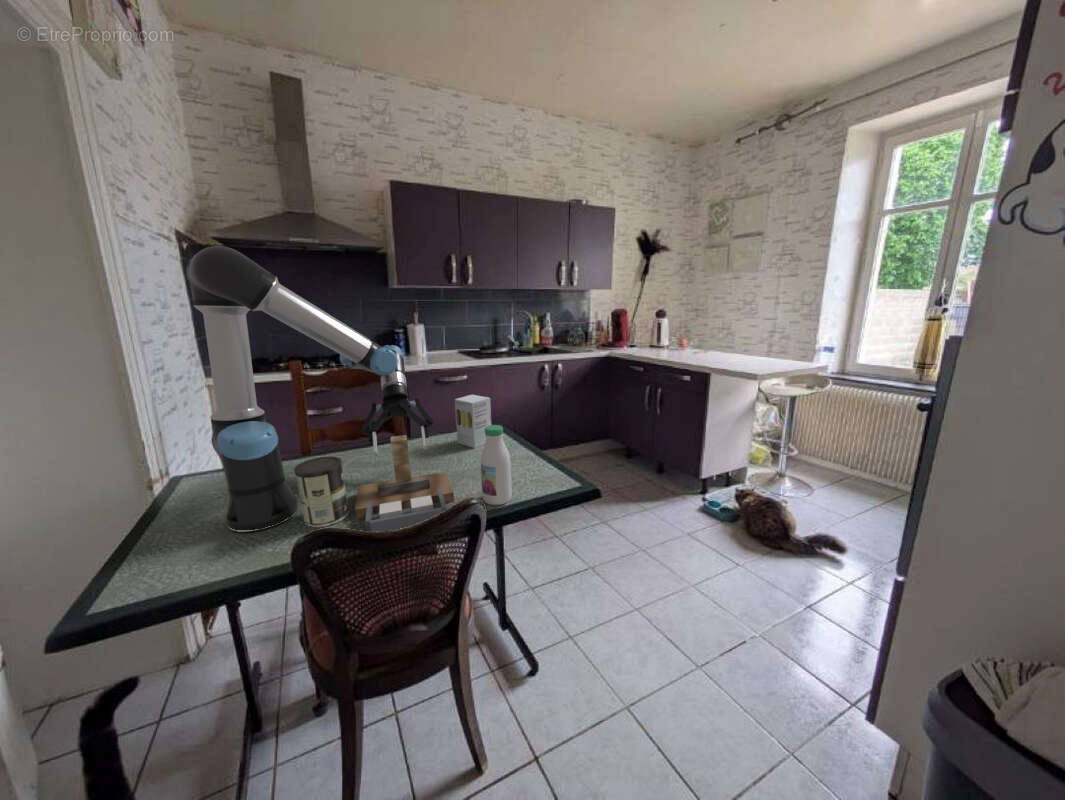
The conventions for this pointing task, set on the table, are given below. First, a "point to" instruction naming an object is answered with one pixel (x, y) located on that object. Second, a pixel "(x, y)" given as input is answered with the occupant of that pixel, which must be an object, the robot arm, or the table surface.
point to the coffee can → (322, 491)
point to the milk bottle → (495, 468)
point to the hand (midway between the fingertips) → (400, 451)
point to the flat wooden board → (371, 493)
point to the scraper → (402, 471)
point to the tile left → (390, 509)
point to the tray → (402, 516)
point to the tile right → (421, 504)
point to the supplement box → (472, 419)
